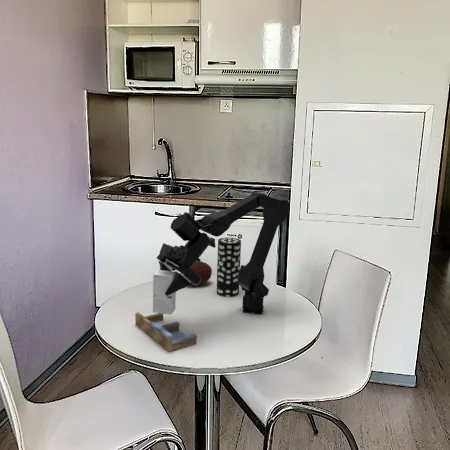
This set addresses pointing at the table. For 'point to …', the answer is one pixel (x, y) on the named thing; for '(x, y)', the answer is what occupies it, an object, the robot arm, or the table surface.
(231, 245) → the spotted tube
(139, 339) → the table surface
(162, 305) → the skincare box
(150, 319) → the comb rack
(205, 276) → the potato
